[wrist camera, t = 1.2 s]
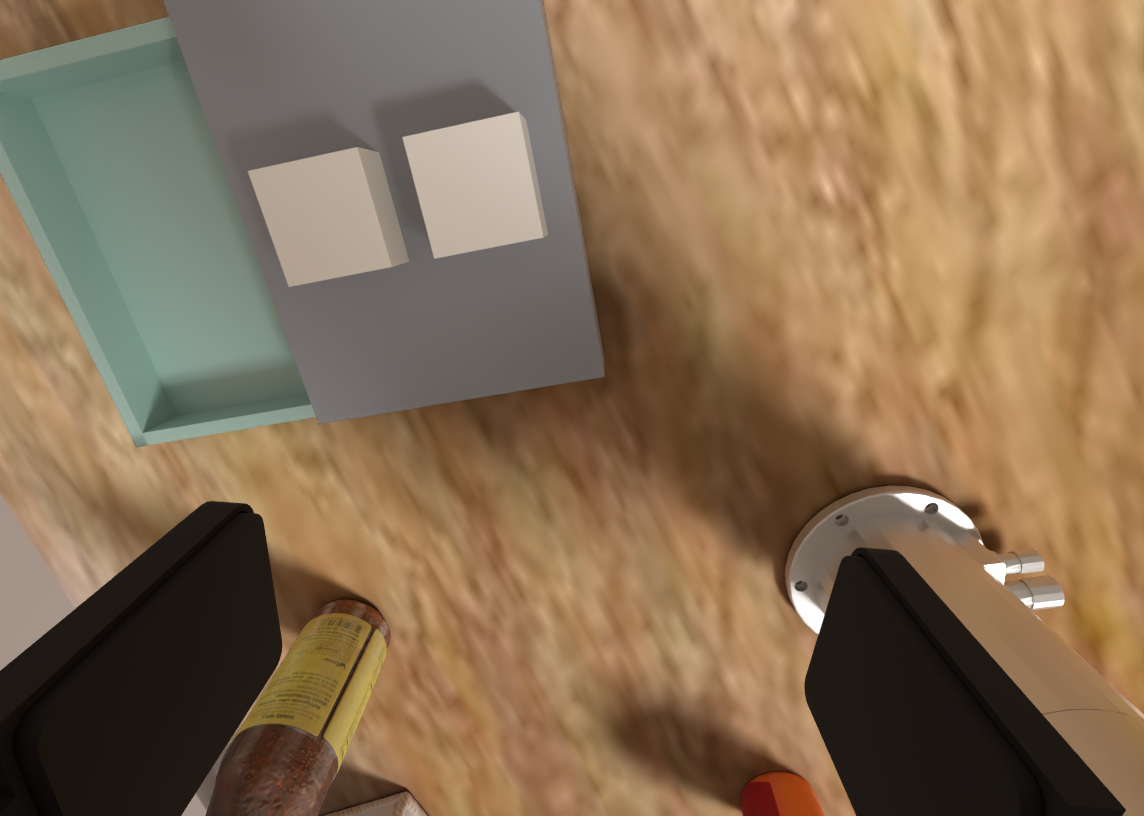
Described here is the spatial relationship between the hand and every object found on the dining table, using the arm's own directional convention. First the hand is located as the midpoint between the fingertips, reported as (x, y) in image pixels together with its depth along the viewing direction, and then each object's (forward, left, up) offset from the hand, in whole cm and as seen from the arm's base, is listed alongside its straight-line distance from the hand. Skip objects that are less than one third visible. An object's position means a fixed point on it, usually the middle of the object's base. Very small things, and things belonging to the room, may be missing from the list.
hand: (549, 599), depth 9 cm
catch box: (+21, -7, -25) cm, 34 cm away
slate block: (+7, -7, -25) cm, 27 cm away
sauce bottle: (+21, +21, -26) cm, 39 cm away
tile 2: (+3, -7, -20) cm, 22 cm away
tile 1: (+10, -7, -20) cm, 24 cm away
